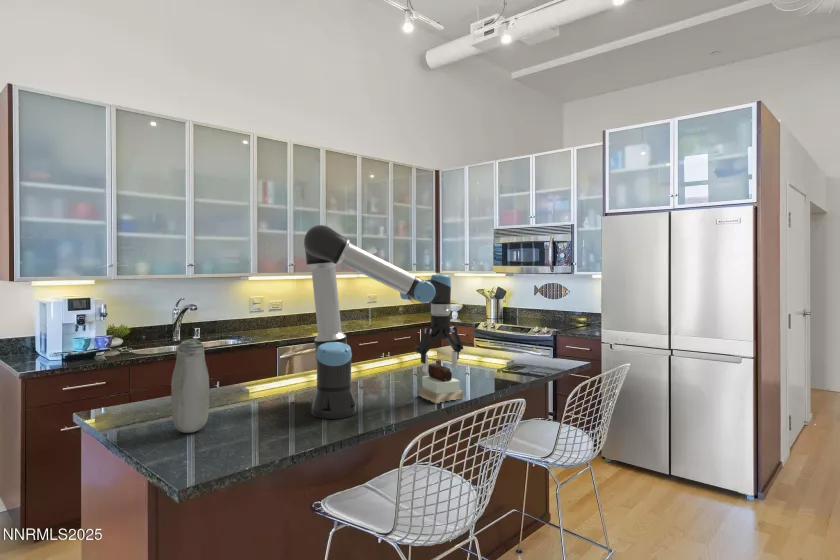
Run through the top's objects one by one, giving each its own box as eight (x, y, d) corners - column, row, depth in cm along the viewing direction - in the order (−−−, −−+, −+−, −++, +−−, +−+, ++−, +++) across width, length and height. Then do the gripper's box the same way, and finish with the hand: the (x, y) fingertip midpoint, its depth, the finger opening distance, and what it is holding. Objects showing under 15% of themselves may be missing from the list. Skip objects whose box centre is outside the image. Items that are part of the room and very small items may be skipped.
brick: (427, 376, 203) (428, 364, 203) (436, 375, 205) (436, 363, 205) (443, 382, 194) (443, 369, 194) (452, 380, 196) (452, 368, 196)
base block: (436, 405, 192) (436, 394, 191) (419, 397, 202) (419, 387, 202) (462, 401, 198) (462, 390, 198) (445, 393, 208) (445, 384, 208)
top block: (436, 394, 192) (436, 383, 192) (422, 386, 203) (422, 376, 203) (459, 391, 196) (460, 380, 196) (444, 384, 207) (445, 374, 207)
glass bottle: (202, 436, 153) (201, 342, 152) (166, 436, 152) (165, 341, 151) (213, 426, 163) (213, 337, 162) (180, 426, 162) (179, 337, 161)
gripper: (417, 317, 189) (417, 375, 190) (472, 314, 202) (471, 368, 203) (407, 315, 195) (407, 371, 196) (461, 312, 209) (460, 365, 209)
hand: (439, 369), depth 200 cm, fingers open, 13 cm apart
